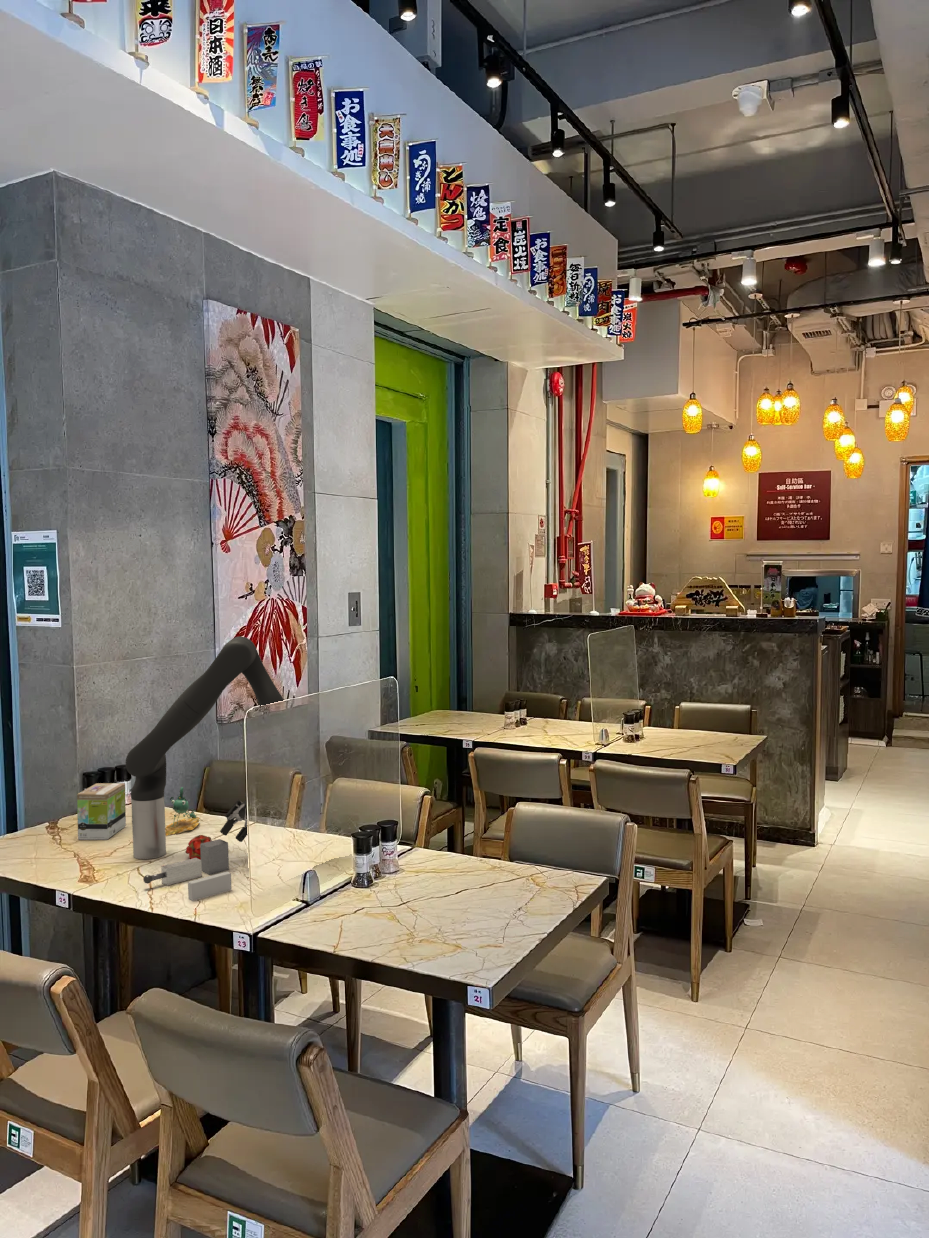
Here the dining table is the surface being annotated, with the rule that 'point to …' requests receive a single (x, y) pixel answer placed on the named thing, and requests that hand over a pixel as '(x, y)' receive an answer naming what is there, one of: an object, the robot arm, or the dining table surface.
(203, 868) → the steel block
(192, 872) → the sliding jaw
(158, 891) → the dining table surface
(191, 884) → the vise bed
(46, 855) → the dining table surface
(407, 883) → the dining table surface
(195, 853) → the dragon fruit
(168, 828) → the frog figurine
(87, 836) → the tea box
